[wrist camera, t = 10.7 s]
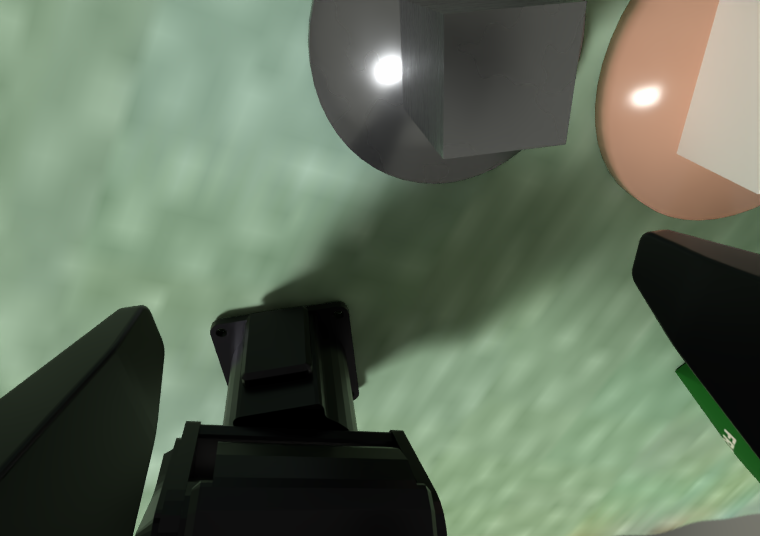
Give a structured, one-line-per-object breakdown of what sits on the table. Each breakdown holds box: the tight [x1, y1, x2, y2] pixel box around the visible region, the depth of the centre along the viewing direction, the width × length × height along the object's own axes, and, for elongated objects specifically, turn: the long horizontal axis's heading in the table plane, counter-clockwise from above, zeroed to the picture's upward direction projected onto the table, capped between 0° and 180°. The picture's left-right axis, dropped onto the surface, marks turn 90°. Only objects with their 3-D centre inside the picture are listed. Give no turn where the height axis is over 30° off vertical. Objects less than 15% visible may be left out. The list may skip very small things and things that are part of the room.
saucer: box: [595, 0, 760, 220], centre depth 20 cm, size 13×13×1 cm
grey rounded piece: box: [308, 0, 587, 184], centre depth 15 cm, size 10×10×6 cm
